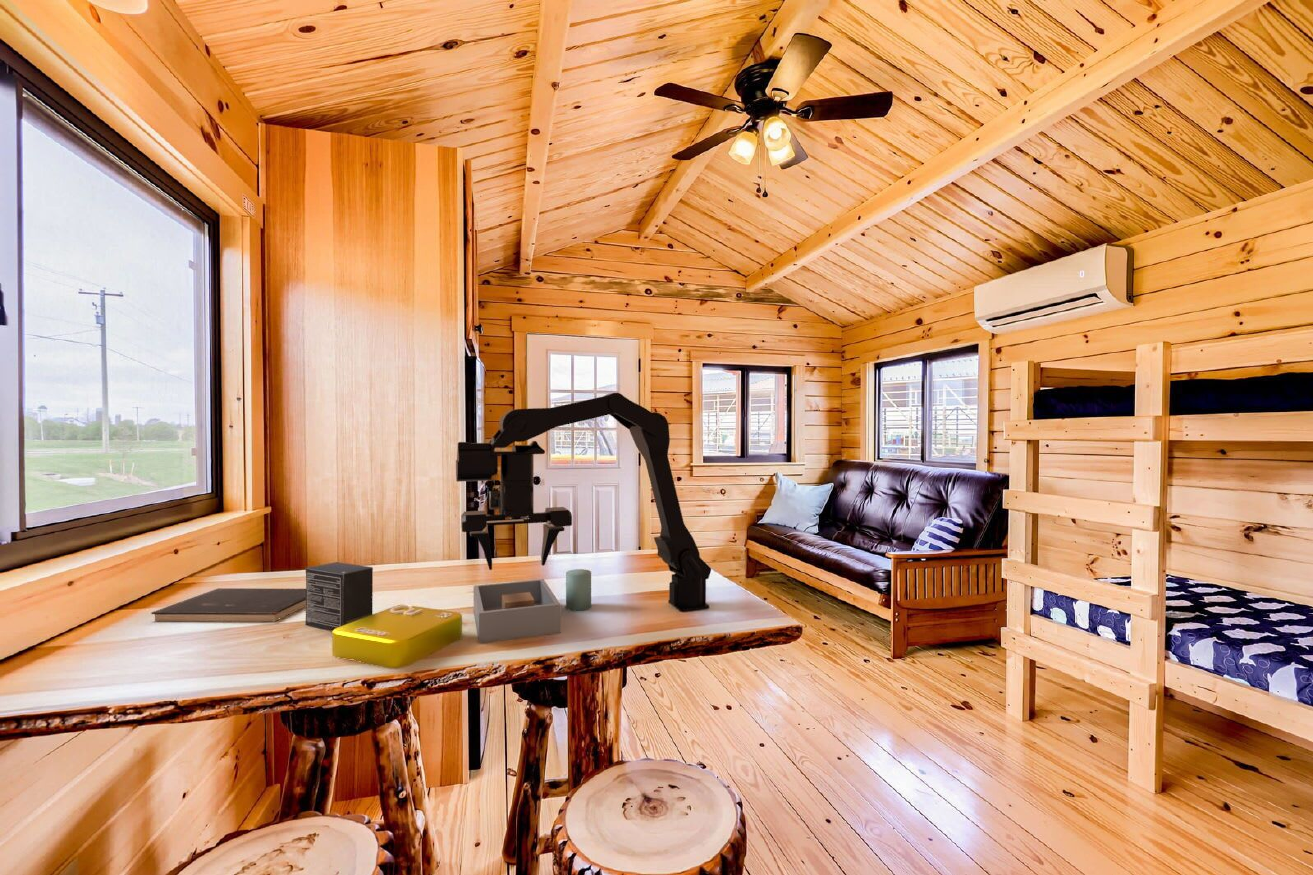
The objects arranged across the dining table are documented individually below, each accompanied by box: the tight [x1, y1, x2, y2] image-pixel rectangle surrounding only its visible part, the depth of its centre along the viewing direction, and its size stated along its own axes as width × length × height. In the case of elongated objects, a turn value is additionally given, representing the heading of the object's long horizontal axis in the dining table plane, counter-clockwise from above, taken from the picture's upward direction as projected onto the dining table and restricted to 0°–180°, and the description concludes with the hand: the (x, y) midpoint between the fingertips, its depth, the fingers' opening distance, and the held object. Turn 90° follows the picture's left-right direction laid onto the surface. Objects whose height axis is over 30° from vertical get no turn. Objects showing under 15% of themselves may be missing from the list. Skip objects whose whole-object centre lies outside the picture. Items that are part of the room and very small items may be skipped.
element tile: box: [331, 604, 463, 669], centre depth 92 cm, size 15×15×5 cm
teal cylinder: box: [565, 568, 592, 612], centre depth 112 cm, size 5×5×7 cm
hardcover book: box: [151, 587, 306, 622], centre depth 111 cm, size 16×23×2 cm
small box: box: [305, 561, 374, 632], centre depth 102 cm, size 11×6×10 cm, turn 65°
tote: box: [473, 578, 561, 644], centre depth 103 cm, size 14×18×5 cm
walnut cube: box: [502, 592, 534, 609], centre depth 100 cm, size 5×5×5 cm
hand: (517, 567), depth 99 cm, fingers open, 9 cm apart
